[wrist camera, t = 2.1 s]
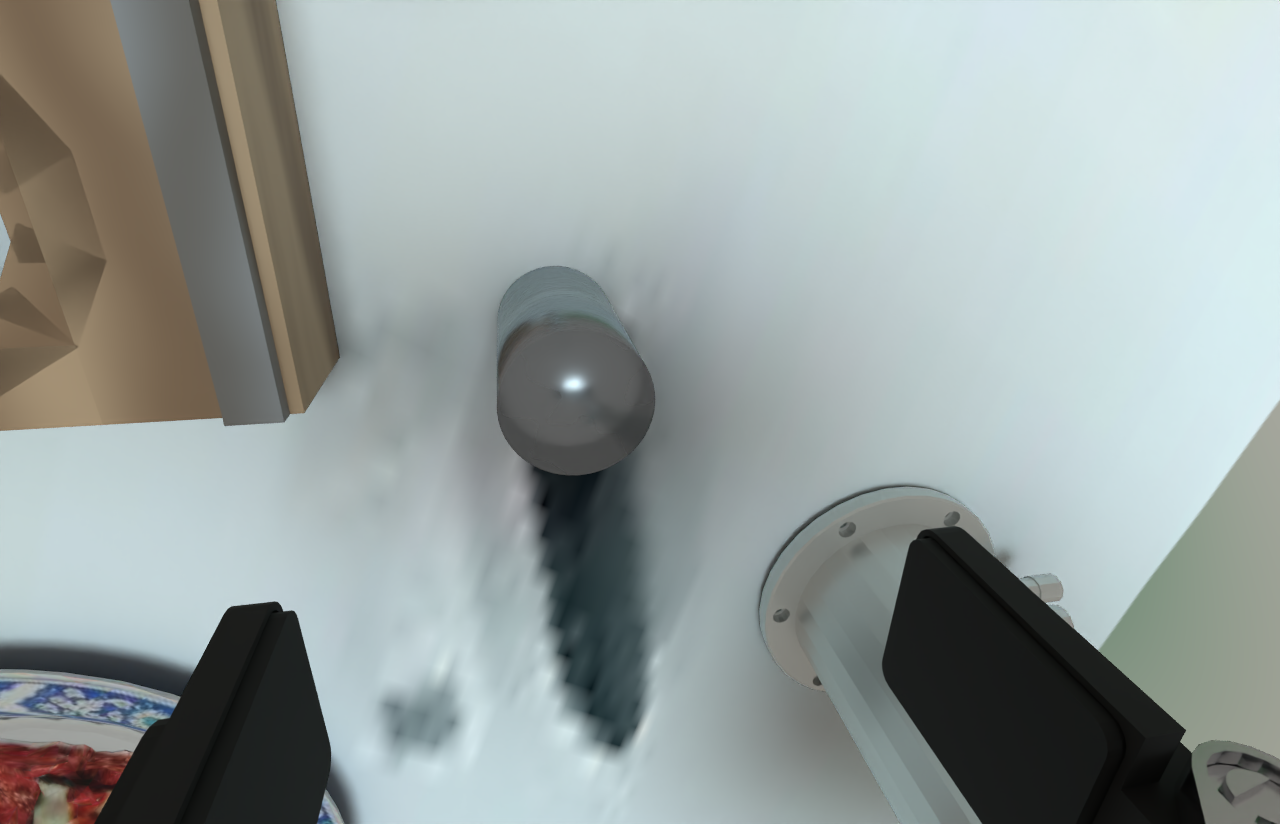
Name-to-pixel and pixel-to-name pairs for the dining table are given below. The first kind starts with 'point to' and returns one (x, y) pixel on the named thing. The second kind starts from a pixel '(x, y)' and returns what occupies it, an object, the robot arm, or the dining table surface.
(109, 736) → the ceramic plate
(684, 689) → the dining table surface
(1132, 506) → the dining table surface
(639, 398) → the grey cylinder
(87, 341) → the block
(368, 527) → the dining table surface
